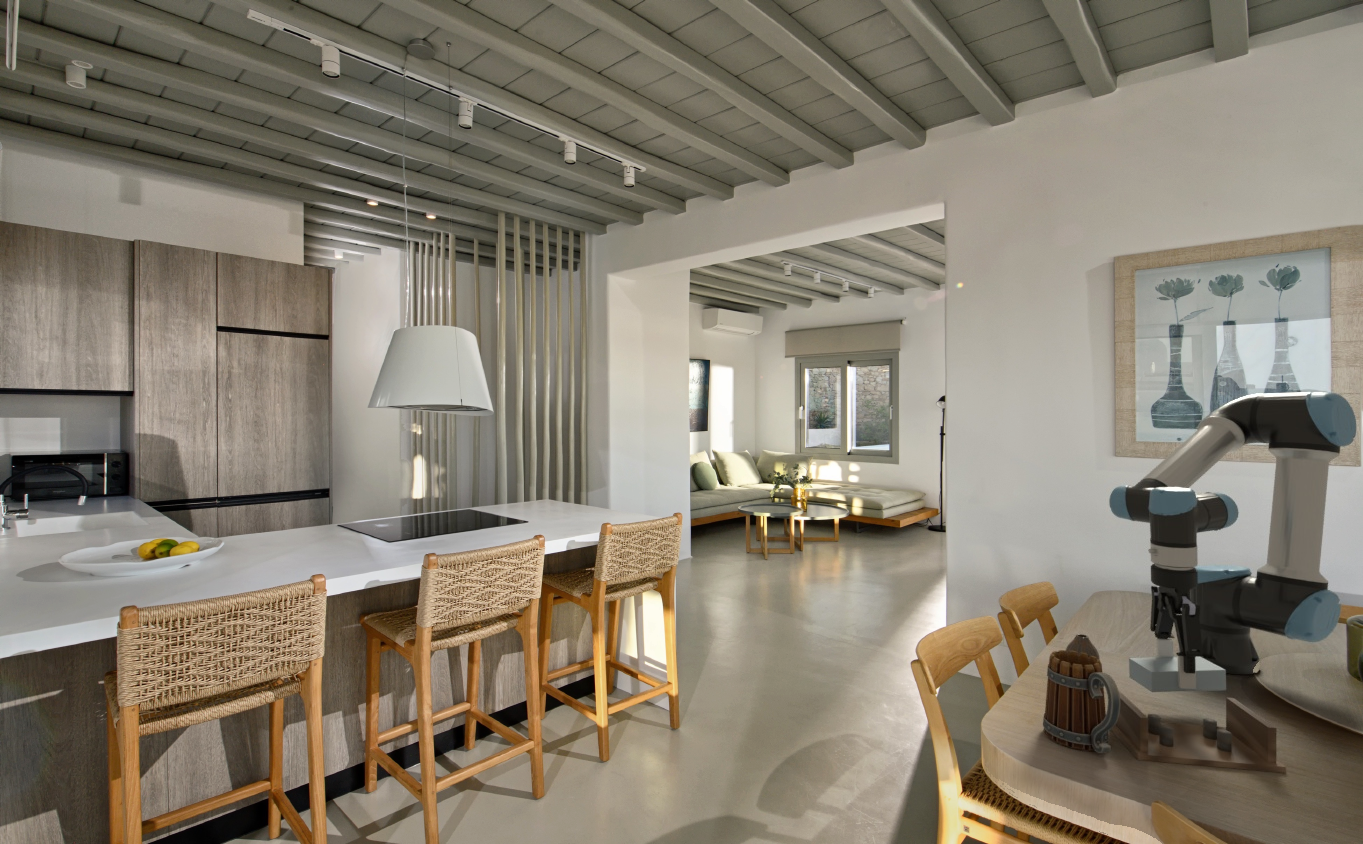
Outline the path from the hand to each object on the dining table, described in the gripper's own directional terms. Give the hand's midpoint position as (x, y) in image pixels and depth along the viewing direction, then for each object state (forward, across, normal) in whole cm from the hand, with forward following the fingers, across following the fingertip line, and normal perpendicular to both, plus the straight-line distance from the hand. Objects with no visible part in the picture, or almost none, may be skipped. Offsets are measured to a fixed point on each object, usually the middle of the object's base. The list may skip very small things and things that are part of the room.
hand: (1175, 678), depth 133 cm
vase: (+7, -18, -11) cm, 23 cm away
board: (+1, 0, 0) cm, 1 cm away
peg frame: (+6, +14, -5) cm, 17 cm away
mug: (+6, +18, -23) cm, 29 cm away
